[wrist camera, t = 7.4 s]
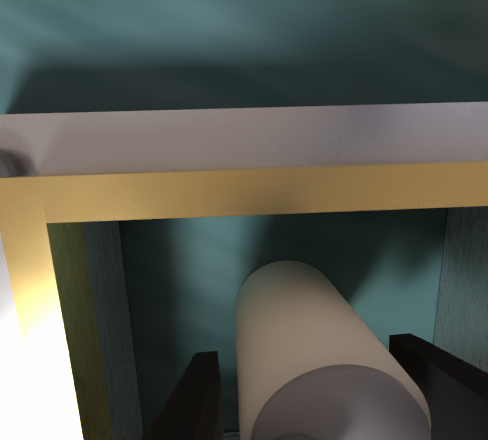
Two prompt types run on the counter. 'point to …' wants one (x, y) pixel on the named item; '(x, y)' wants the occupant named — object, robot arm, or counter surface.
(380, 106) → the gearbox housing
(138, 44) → the counter surface
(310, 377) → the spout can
